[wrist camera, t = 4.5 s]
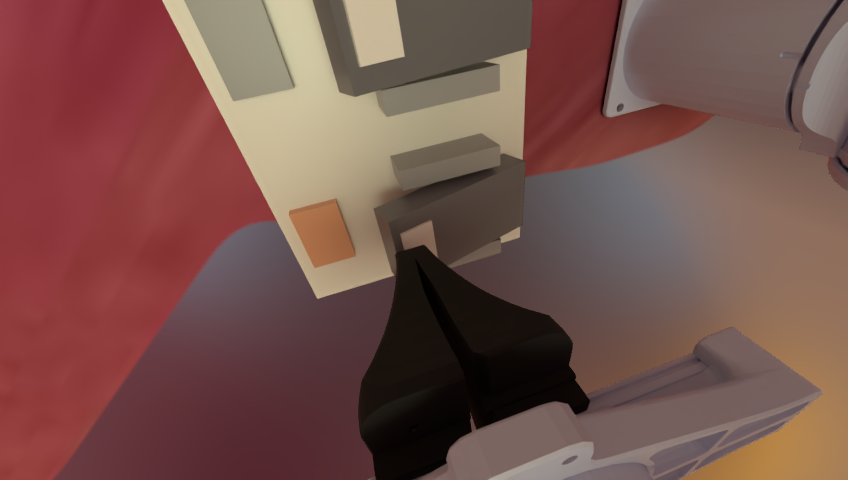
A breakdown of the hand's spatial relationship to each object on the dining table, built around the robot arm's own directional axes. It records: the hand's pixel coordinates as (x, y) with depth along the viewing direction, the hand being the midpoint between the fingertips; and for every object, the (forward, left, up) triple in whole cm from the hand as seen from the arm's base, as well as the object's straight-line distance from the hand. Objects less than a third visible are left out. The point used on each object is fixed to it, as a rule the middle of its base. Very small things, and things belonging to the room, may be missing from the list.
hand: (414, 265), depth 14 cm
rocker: (-3, 0, -3) cm, 4 cm away
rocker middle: (-3, -9, -3) cm, 10 cm away
